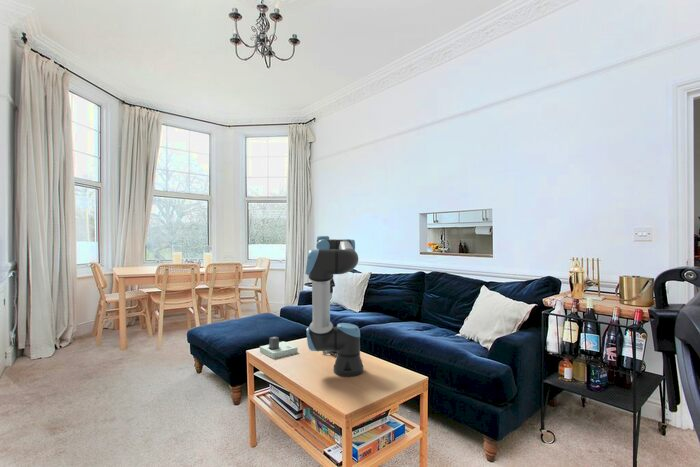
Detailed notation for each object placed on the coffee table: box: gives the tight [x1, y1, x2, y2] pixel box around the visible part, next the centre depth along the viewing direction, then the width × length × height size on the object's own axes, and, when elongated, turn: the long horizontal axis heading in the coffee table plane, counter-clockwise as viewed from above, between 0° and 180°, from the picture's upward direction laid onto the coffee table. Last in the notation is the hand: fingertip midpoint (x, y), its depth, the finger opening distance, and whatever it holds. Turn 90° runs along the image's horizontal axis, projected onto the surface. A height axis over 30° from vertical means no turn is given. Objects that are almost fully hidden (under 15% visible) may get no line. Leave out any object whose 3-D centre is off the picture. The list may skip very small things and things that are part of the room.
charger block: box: [268, 336, 280, 350], centre depth 206 cm, size 4×4×9 cm
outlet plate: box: [259, 341, 299, 359], centre depth 208 cm, size 16×16×3 cm
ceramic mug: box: [321, 351, 337, 356], centre depth 207 cm, size 11×8×8 cm
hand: (323, 297), depth 212 cm, fingers open, 13 cm apart
